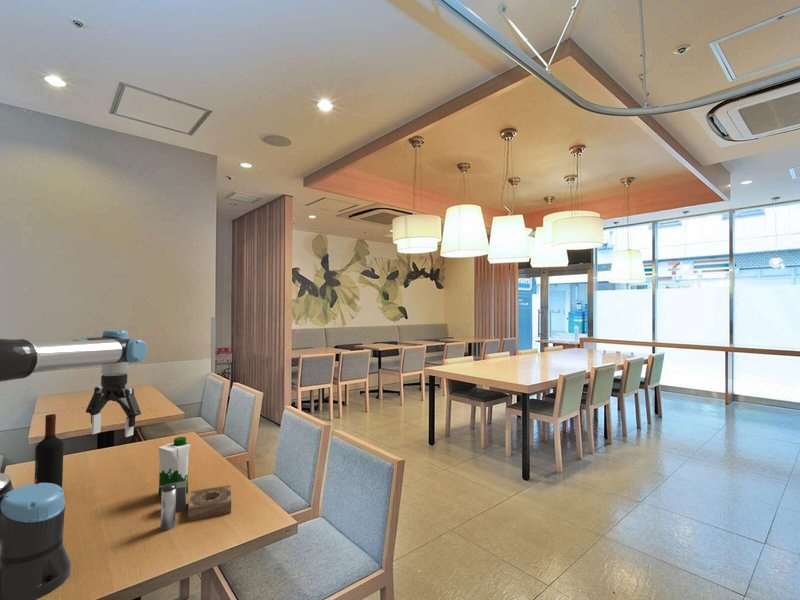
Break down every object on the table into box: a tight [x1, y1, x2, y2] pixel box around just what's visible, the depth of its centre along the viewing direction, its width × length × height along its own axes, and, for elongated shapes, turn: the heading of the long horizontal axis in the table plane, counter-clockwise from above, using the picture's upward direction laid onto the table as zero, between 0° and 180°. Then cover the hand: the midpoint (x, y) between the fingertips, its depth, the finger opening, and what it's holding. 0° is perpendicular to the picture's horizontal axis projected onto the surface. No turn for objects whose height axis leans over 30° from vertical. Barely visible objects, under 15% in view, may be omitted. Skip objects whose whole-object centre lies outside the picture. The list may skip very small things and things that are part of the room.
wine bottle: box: [33, 413, 65, 489], centre depth 141 cm, size 8×8×30 cm
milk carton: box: [157, 436, 192, 498], centre depth 146 cm, size 9×9×20 cm
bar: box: [175, 481, 187, 512], centre depth 136 cm, size 5×5×8 cm
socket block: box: [187, 484, 232, 522], centre depth 137 cm, size 13×13×4 cm
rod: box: [160, 483, 176, 531], centre depth 125 cm, size 4×4×13 cm
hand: (112, 434), depth 138 cm, fingers open, 13 cm apart
